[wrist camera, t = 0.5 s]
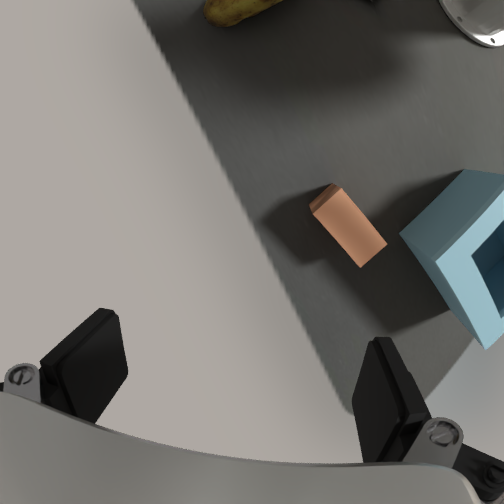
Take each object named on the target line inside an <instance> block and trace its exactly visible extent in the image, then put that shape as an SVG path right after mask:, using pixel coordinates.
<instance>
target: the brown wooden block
mask: <svg viewBox="0 0 504 504" xmlns="http://www.w3.org/2000/svg"><path fill="white" fill-rule="evenodd" d="M309 206H310V209H311V211H312V213H313V215H314V216H315V217H316V218H317V219H318V220H319V221H320V222H321V224H322V225H323V226H324V227H325V228H326V229H327V230H328V231H329V232H330V234H331V235H332V236H333V237H334V238H335V239H336V240H337V242H338V243H339V244H340V245H341V246H342V247H343V248H344V250H345V251H346V252H347V253H348V254H349V255H350V256H351V258H352V259H353V260H354V261H355V262H356V264H357V265H358V266H359V267H360V268H361V267H362V266H363V265H364V264H365V263H366V262H368V261H369V260H370V259H371V258H372V257H373V256H374V255H376V254H377V253H378V252H379V251H380V250H381V249H382V248H384V247H385V246H386V245H387V243H386V242H385V241H384V239H383V238H382V237H381V236H380V234H379V233H378V232H377V230H376V229H375V228H374V227H373V226H372V224H371V223H370V222H369V221H368V219H367V218H366V217H365V216H364V215H363V213H362V212H361V211H360V210H359V208H358V207H357V206H356V205H355V204H354V203H353V201H352V200H351V199H350V198H349V197H348V196H347V194H346V193H345V192H344V191H343V190H342V189H341V188H340V187H338V186H336V185H334V184H333V183H332V184H331V185H330V186H329V187H327V188H326V189H325V190H324V191H323V192H322V193H321V194H320V195H319V196H318V197H316V198H315V199H314V200H313V201H312V202H311V203H310V204H309Z"/></svg>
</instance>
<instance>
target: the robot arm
mask: <svg viewBox="0 0 504 504" xmlns="http://www.w3.org/2000/svg"><path fill="white" fill-rule="evenodd" d="M439 2H440V4H441V6H442V8H443V9H444V11H445V13H446V14H447V15H448V17H449V18H450V19H451V21H452V22H453V23H454V24H455V25H456V26H457V27H458V28H459V29H460V30H461V31H462V32H463V33H464V34H466V35H467V36H468V37H469V38H471V39H472V40H474V41H475V42H477V43H479V44H481V45H483V46H487V47H492V48H497V47H501V46H503V45H504V0H439ZM40 364H41V368H40V369H39V370H38V368H37V367H36V366H35V365H33V364H28V363H22V364H18V365H15V366H13V367H12V368H10V369H9V370H8V372H7V373H6V375H5V379H4V382H2V383H0V504H504V462H503V461H501V460H498V459H496V458H494V457H492V456H489V455H487V454H485V453H483V452H480V451H478V450H476V449H474V448H472V447H469V446H467V445H465V444H463V443H462V442H463V437H464V435H463V431H462V429H461V428H460V426H459V425H458V424H457V423H456V422H454V421H452V420H450V419H447V418H440V417H437V418H432V417H431V415H430V412H429V410H428V408H427V406H426V404H425V401H424V399H423V397H422V395H421V393H420V391H419V389H418V387H417V385H416V383H415V381H414V379H413V377H412V375H411V373H410V372H408V370H407V368H406V366H405V364H404V362H403V360H402V358H401V356H400V354H399V352H398V351H397V349H396V347H395V345H394V343H393V341H392V339H391V338H390V337H375V338H374V340H373V341H369V343H368V346H367V350H366V353H365V357H364V360H363V364H362V367H361V371H360V374H359V377H358V381H357V384H356V387H355V390H354V393H353V397H352V407H353V411H354V416H355V421H356V425H357V431H358V436H359V442H360V446H361V451H362V457H363V463H346V464H345V463H343V464H321V463H288V462H273V461H261V460H252V459H243V458H235V457H227V456H220V455H214V454H208V453H203V452H197V451H192V450H187V449H182V448H178V447H173V446H169V445H165V444H160V443H156V442H153V441H149V440H145V439H141V438H138V437H134V436H130V435H127V434H124V433H121V432H117V431H114V430H111V429H108V428H105V427H102V426H99V425H96V424H95V423H96V421H97V420H98V418H99V417H100V416H101V414H102V413H103V411H104V410H105V408H106V407H107V405H108V404H109V402H110V401H111V399H112V398H113V397H114V395H115V394H116V392H117V391H118V389H119V388H120V386H121V385H122V383H123V382H124V381H125V379H126V378H127V375H128V366H127V361H126V356H125V351H124V346H123V340H122V334H121V328H120V322H119V317H118V315H117V314H115V312H114V311H113V310H110V309H104V308H99V309H98V310H96V311H95V312H94V313H93V314H92V315H91V316H89V318H87V319H86V320H85V321H84V322H83V323H81V324H80V325H79V326H78V327H77V328H76V329H75V330H73V331H72V332H71V333H70V334H69V335H68V336H67V337H66V338H64V339H63V340H62V341H61V342H60V343H59V344H58V345H57V346H56V347H55V348H53V349H52V350H51V351H50V352H49V353H48V354H47V355H46V356H45V357H44V358H42V359H41V360H40Z"/></svg>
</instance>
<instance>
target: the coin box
mask: <svg viewBox="0 0 504 504" xmlns="http://www.w3.org/2000/svg"><path fill="white" fill-rule="evenodd" d="M399 234H400V236H401V237H402V239H403V240H404V241H405V243H406V244H407V245H408V247H409V248H410V250H411V251H412V252H413V254H414V255H415V257H416V258H417V259H418V261H419V262H420V264H421V265H422V267H423V268H424V270H425V271H426V273H427V274H428V275H429V277H430V278H431V280H432V282H433V283H434V285H435V286H436V288H437V289H438V291H439V292H440V294H441V295H442V297H443V299H444V300H445V302H446V303H447V305H448V307H449V308H450V310H451V311H452V312H453V313H454V314H455V315H456V317H457V318H458V319H459V320H460V321H461V322H462V323H463V325H464V326H465V327H466V328H467V329H468V330H469V331H470V333H471V334H472V335H473V336H474V337H475V338H476V340H477V341H478V342H479V343H480V344H481V346H482V347H483V348H484V349H485V350H486V349H487V348H489V347H490V346H491V345H492V344H493V343H494V342H495V341H496V340H497V339H498V338H499V337H500V336H501V335H502V334H503V333H504V175H502V174H496V173H489V172H482V171H475V170H467V169H464V170H463V171H462V172H461V173H460V174H459V175H458V176H457V177H456V178H455V179H454V180H453V181H452V182H451V183H450V184H449V185H448V186H447V187H446V188H445V189H444V190H443V191H442V192H441V193H440V194H439V195H438V196H437V197H436V198H435V199H434V200H433V201H432V202H431V203H430V204H429V205H428V206H427V207H426V208H425V209H424V210H423V211H422V212H421V213H420V214H419V215H418V216H417V217H416V218H415V219H414V220H412V221H411V222H410V223H409V224H408V225H407V226H406V227H405V228H404V229H403V230H402V231H401V232H400V233H399Z"/></svg>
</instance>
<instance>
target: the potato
mask: <svg viewBox="0 0 504 504" xmlns="http://www.w3.org/2000/svg"><path fill="white" fill-rule="evenodd" d="M281 1H283V0H207V1H206V3H205V5H204V9H203V13H204V16H205V18H206V19H207V20H208V22H209V24H211V25H212V26H216V27H227V26H233V25H235V24H238V23H239V22H240V21H241V20H243V19H245V18H247V17H253V16H255V15H257V14H258V13H260V12H262V11H263V10H265V9H267V8H270V7H272V6H274V5H276V4H277V3H279V2H281Z"/></svg>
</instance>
